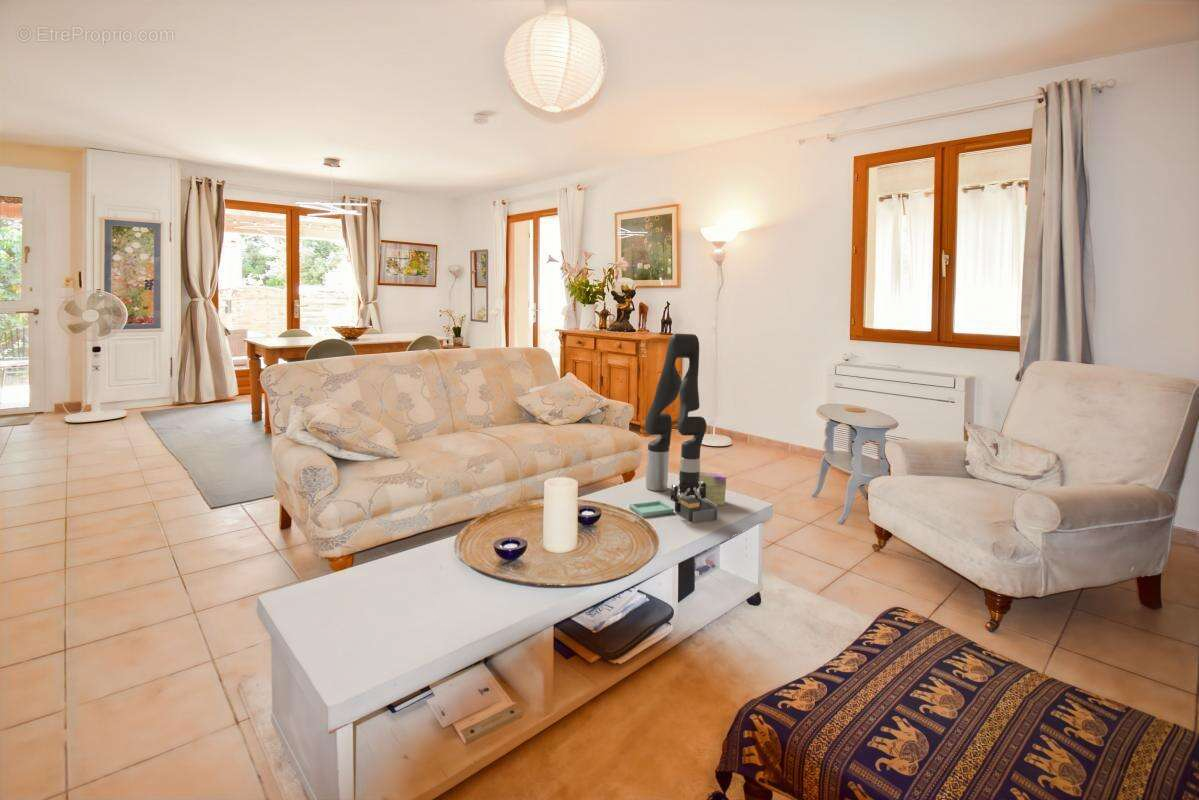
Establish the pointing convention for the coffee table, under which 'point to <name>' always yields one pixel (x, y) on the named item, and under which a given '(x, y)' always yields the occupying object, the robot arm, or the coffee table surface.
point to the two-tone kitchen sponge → (688, 507)
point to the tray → (651, 508)
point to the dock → (705, 512)
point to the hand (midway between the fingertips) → (687, 510)
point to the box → (714, 487)
